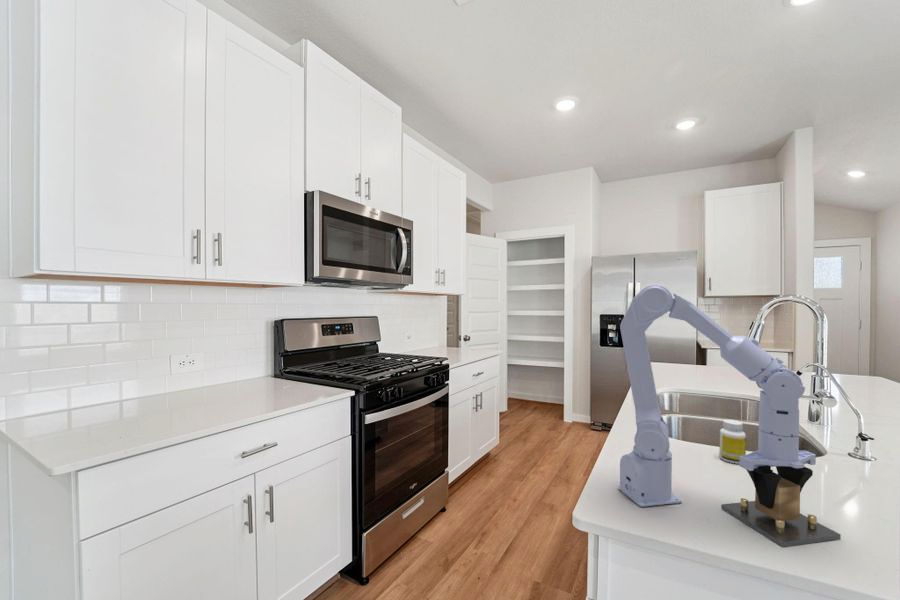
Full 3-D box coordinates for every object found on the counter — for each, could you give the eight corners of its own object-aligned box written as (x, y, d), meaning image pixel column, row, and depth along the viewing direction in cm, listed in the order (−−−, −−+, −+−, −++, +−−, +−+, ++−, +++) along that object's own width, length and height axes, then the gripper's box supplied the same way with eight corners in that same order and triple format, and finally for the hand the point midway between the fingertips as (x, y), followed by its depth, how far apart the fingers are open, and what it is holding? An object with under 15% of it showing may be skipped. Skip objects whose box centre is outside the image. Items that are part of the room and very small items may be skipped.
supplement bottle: (750, 465, 97) (750, 426, 97) (725, 463, 98) (725, 424, 98) (738, 456, 103) (739, 419, 102) (715, 455, 104) (715, 417, 103)
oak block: (778, 521, 70) (779, 488, 70) (755, 508, 75) (755, 476, 75) (799, 519, 71) (800, 486, 71) (775, 505, 76) (775, 474, 76)
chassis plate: (782, 547, 66) (782, 530, 66) (721, 508, 78) (721, 494, 78) (840, 539, 68) (840, 523, 68) (772, 502, 80) (772, 489, 80)
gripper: (765, 442, 67) (764, 520, 68) (834, 436, 70) (833, 512, 70) (729, 428, 74) (729, 499, 75) (793, 423, 77) (792, 492, 77)
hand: (777, 504), depth 73 cm, fingers closed on oak block, 4 cm apart
